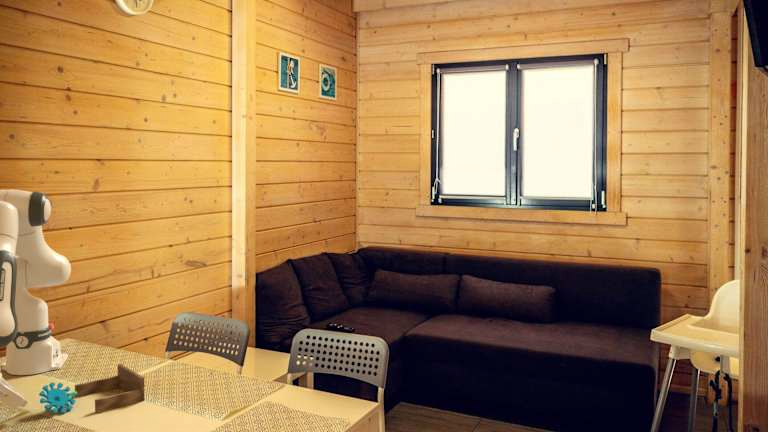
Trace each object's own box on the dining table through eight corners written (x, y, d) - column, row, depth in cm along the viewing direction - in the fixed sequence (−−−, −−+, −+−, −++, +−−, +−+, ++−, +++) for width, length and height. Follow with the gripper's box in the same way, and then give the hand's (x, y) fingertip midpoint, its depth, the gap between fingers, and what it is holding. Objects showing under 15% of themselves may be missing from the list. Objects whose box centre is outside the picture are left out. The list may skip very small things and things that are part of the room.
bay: (96, 412, 185) (95, 388, 184) (74, 396, 197) (74, 373, 196) (144, 400, 195) (144, 377, 194) (121, 385, 207) (120, 363, 206)
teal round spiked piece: (48, 414, 179) (36, 383, 183) (38, 426, 181) (26, 395, 185) (85, 407, 188) (73, 378, 192) (74, 418, 190) (63, 389, 194)
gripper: (2, 376, 166) (45, 404, 173) (-19, 358, 180) (22, 384, 188) (-18, 398, 163) (27, 425, 171) (-37, 377, 178) (5, 403, 185)
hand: (24, 403), depth 179 cm, fingers closed
